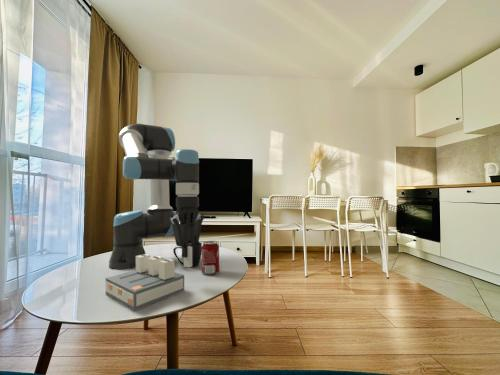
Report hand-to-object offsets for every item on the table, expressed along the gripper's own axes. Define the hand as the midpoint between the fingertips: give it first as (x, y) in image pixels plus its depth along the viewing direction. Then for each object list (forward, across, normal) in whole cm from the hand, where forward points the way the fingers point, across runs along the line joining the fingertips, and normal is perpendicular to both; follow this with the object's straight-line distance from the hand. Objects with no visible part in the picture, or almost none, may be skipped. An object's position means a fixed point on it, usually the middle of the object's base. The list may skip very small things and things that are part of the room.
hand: (187, 266), depth 80 cm
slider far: (+1, -9, +12) cm, 15 cm away
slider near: (+1, -8, 0) cm, 8 cm away
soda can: (+7, +14, +4) cm, 16 cm away
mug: (+7, +14, +18) cm, 24 cm away
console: (+7, -11, +7) cm, 15 cm away
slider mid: (+1, -8, +6) cm, 10 cm away
